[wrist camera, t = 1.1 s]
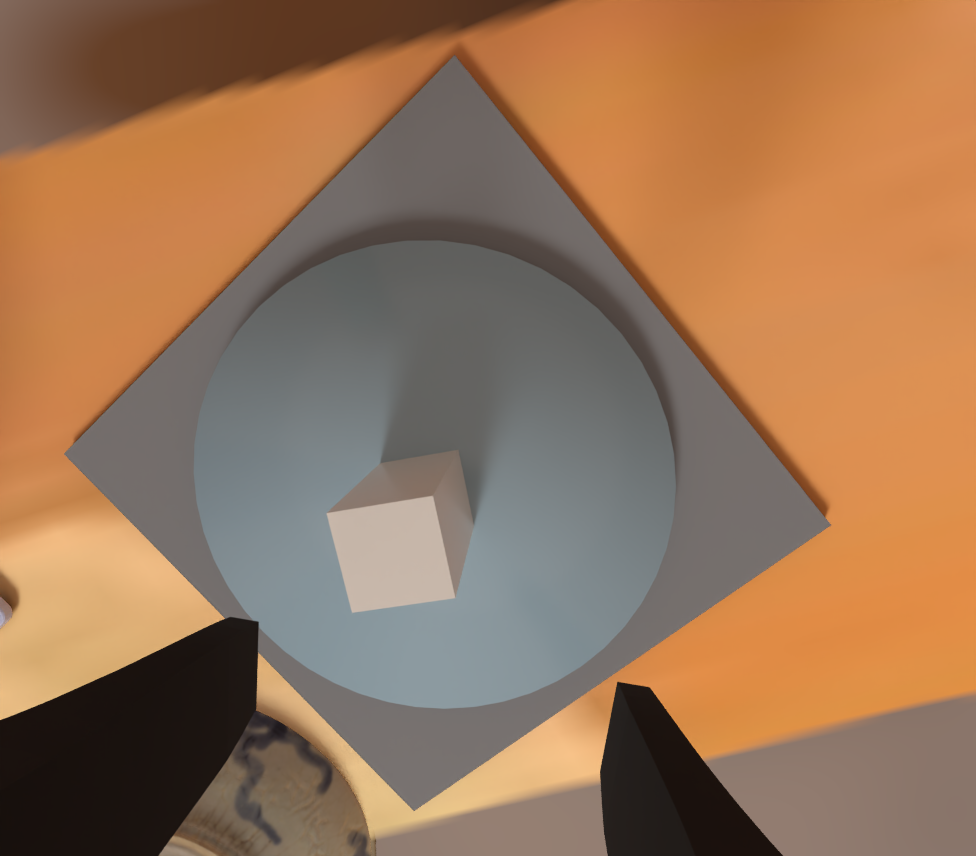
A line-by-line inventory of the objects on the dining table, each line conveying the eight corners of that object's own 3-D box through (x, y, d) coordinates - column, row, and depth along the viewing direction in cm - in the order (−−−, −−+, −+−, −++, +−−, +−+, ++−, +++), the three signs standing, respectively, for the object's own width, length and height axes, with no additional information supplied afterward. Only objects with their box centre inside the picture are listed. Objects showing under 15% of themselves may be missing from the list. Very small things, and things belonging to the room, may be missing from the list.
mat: (73, 451, 20) (63, 453, 20) (456, 61, 17) (454, 54, 16) (415, 802, 22) (414, 811, 22) (824, 520, 19) (831, 525, 18)
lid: (273, 717, 21) (182, 858, 16) (149, 298, 18) (-18, 286, 13) (696, 665, 20) (766, 803, 14) (633, 194, 17) (689, 124, 11)
